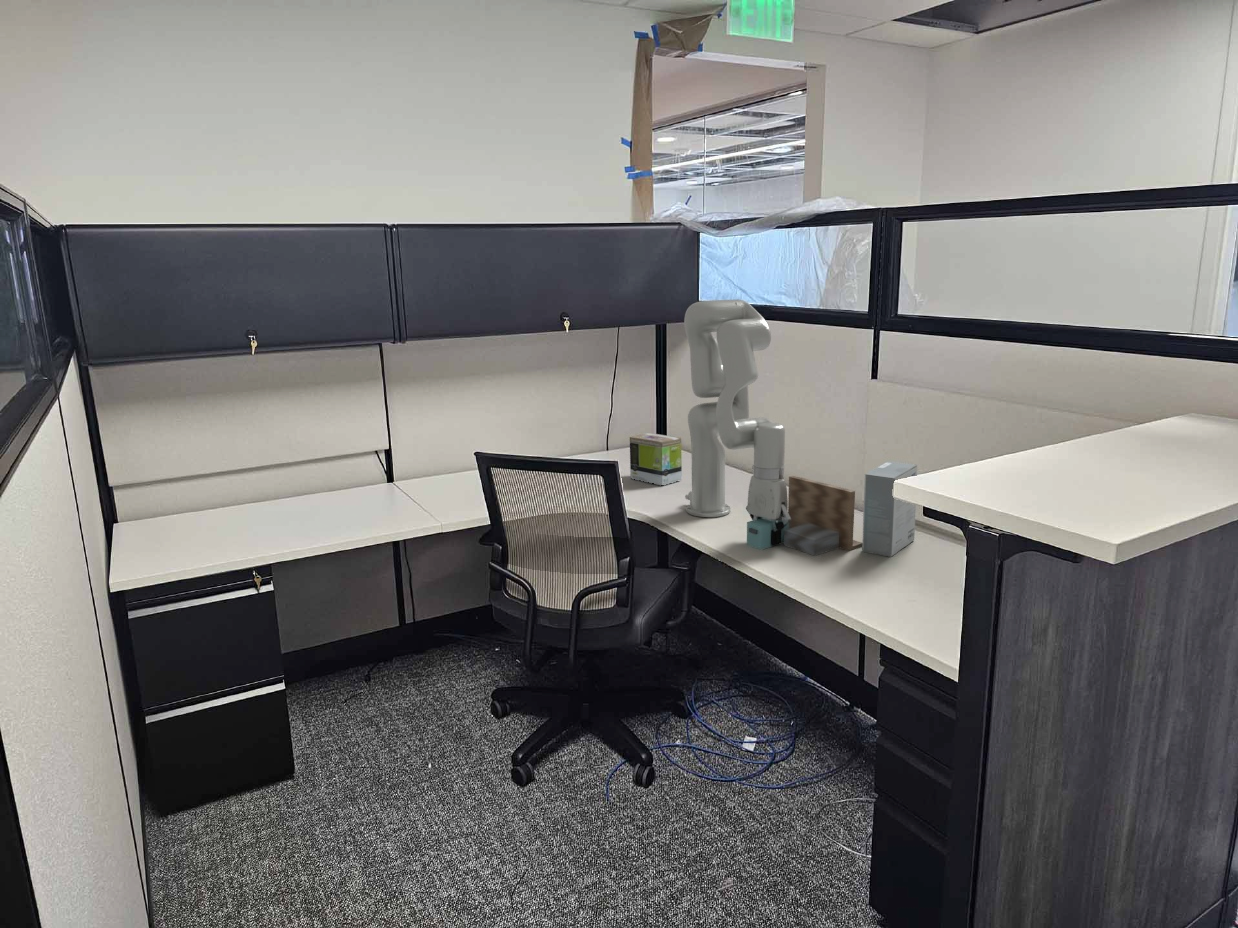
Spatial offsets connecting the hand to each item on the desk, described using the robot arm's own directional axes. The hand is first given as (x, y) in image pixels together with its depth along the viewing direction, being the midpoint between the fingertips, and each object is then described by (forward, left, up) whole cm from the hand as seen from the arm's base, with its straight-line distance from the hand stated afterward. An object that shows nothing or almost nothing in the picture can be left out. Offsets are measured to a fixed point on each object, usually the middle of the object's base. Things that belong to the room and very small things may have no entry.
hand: (767, 540), depth 209 cm
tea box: (-68, +18, -1) cm, 70 cm away
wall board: (+7, +9, -1) cm, 11 cm away
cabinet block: (0, 0, -1) cm, 1 cm away
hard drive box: (+21, +21, -1) cm, 30 cm away
